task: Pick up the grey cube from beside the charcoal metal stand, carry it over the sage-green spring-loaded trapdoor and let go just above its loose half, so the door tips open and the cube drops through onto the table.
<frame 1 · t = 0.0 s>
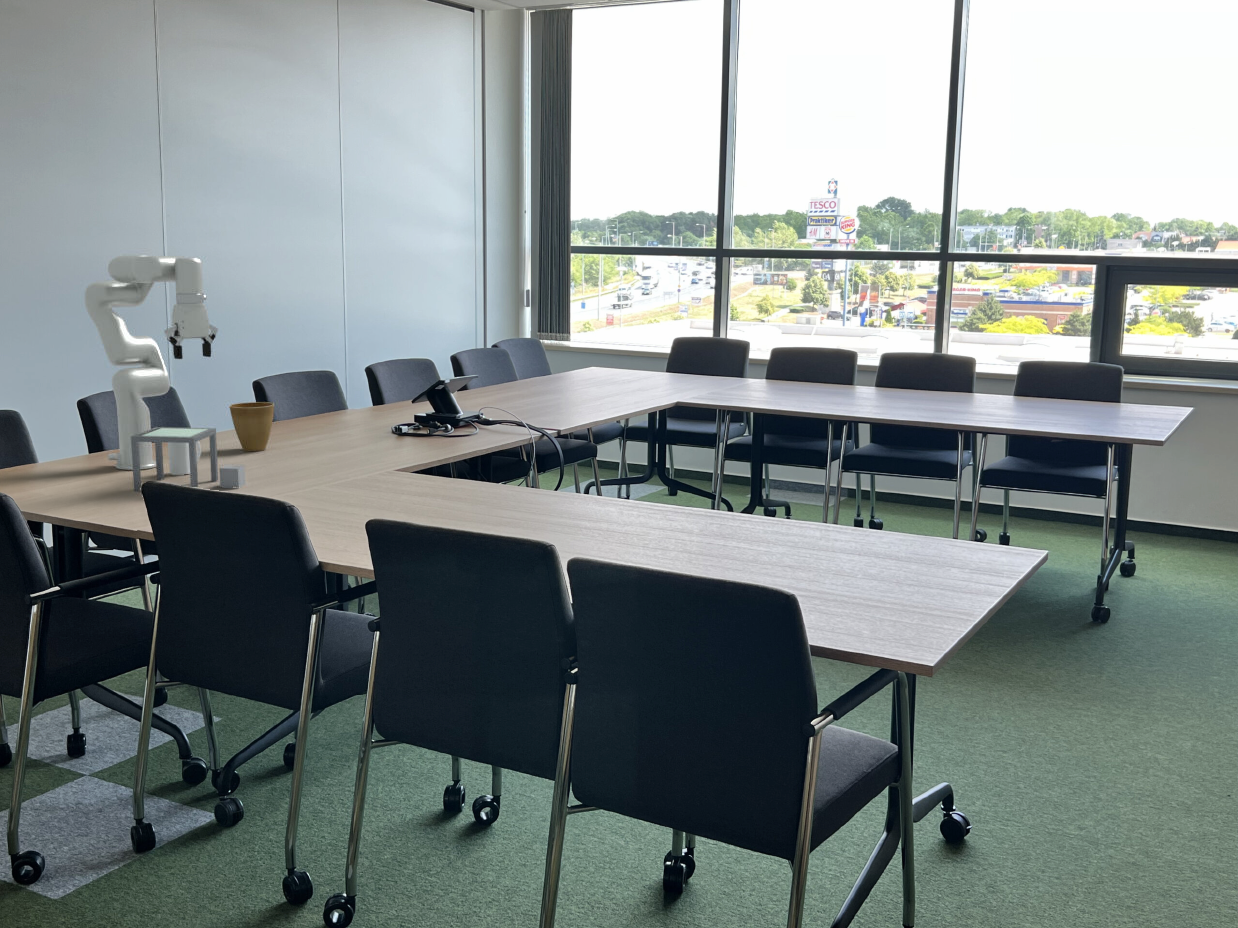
hand: (192, 357, 341), 37 cm above the table, tool pointing down, fingers open, 9 cm apart
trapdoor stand: (178, 485, 339), on the table
trapdoor: (175, 434, 337), point 16 cm above the table, hinge at 0.0°
plant pot: (253, 450, 400), on the table
grey cube: (232, 486, 340), on the table
mug: (186, 473, 358), on the table
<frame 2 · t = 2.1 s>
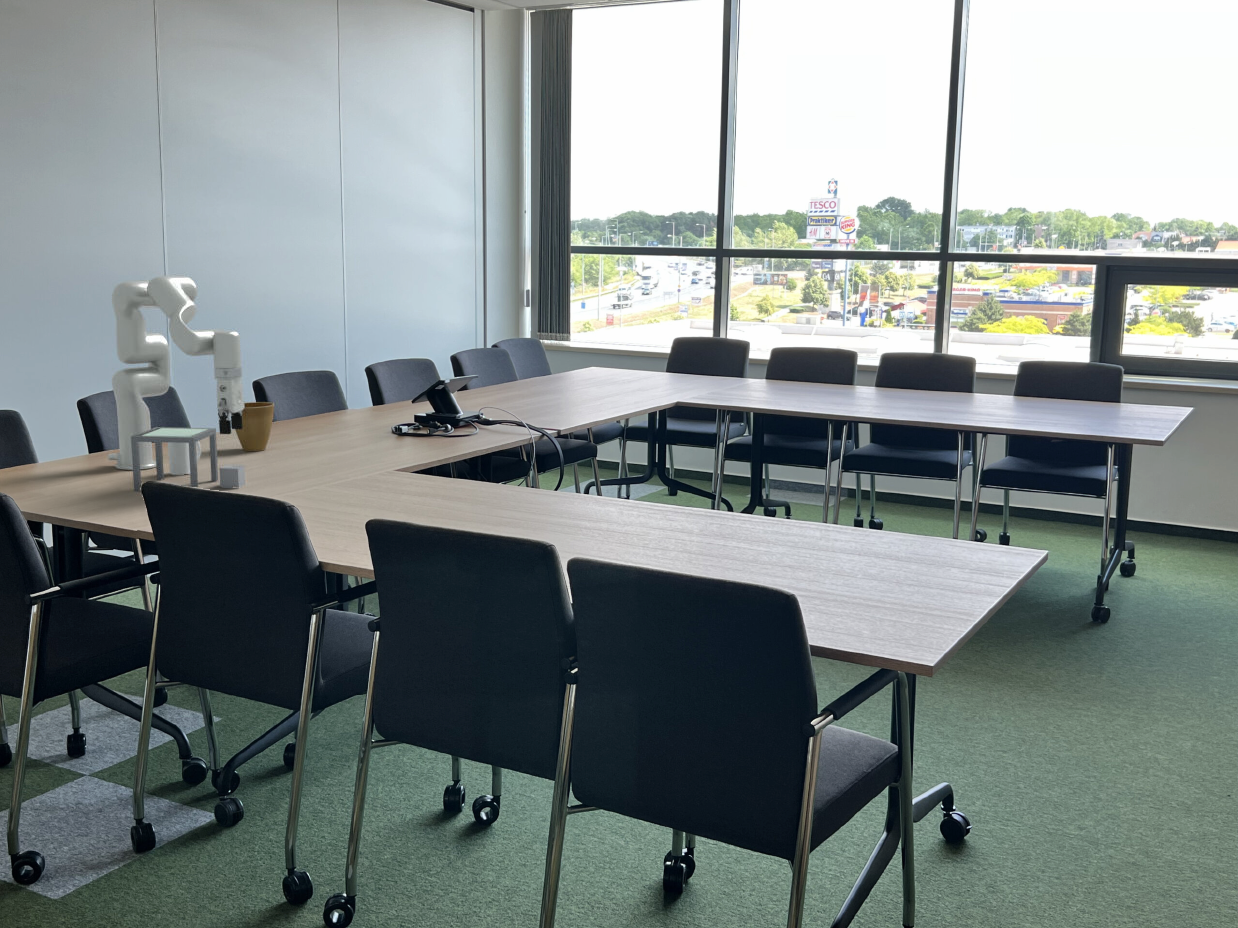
hand: (231, 431, 337), 17 cm above the table, tool pointing down, fingers open, 9 cm apart
nothing on the table moved.
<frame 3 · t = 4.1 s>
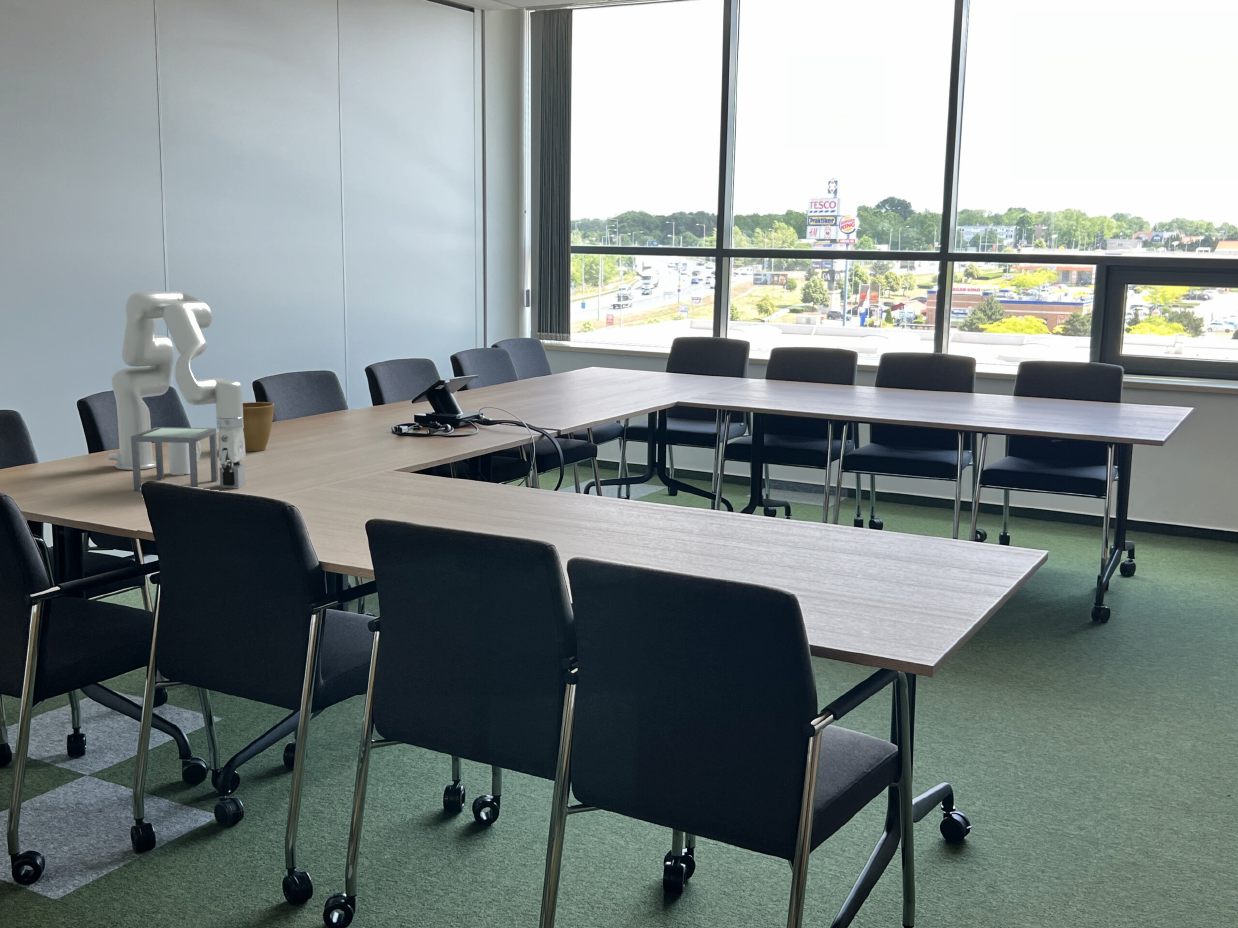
hand: (232, 482, 340), 1 cm above the table, tool pointing down, fingers closed on grey cube, 5 cm apart
grey cube: (232, 486, 340), on the table, touching gripper
everything else where it was.
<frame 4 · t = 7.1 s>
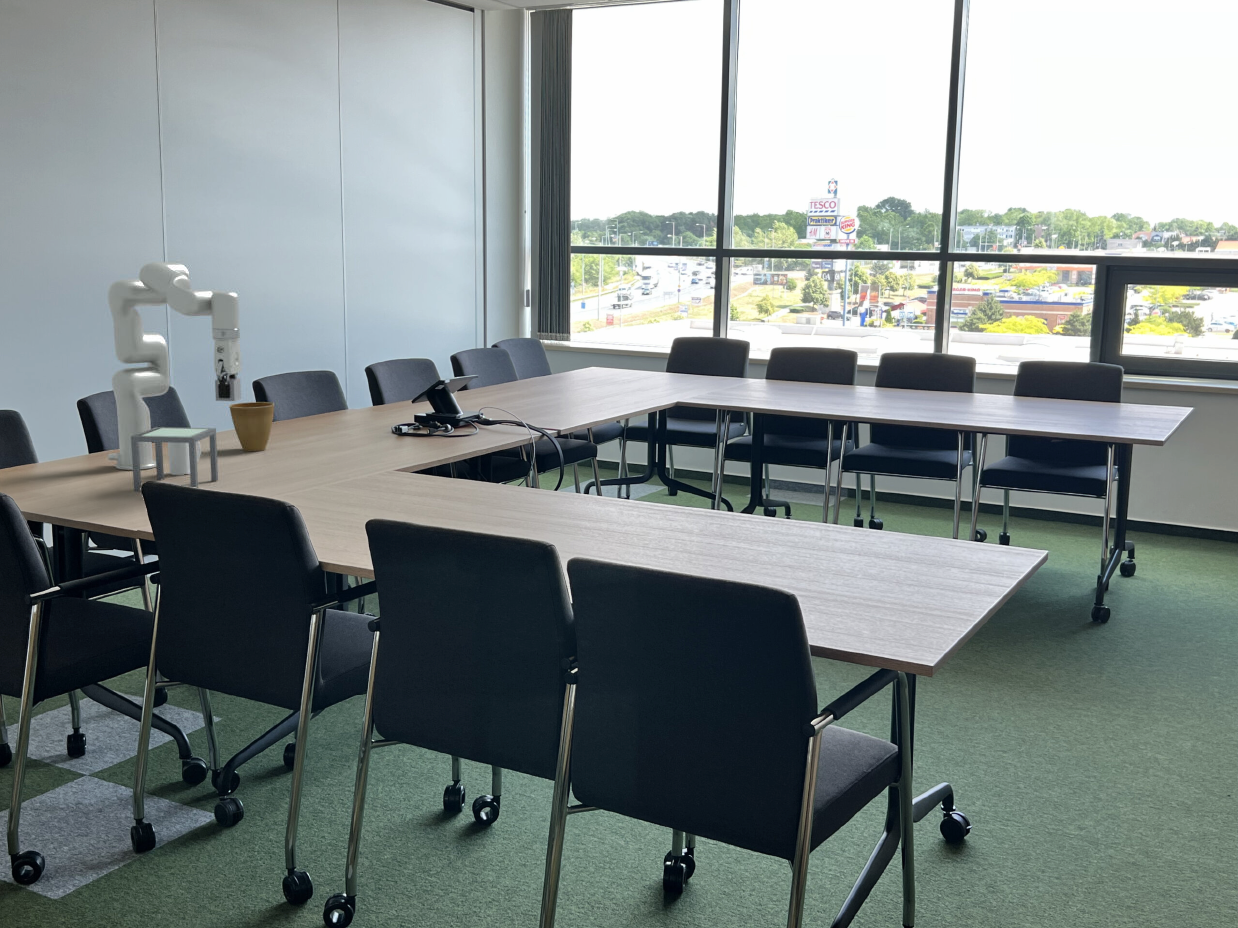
hand: (228, 395, 335), 27 cm above the table, tool pointing down, fingers closed on grey cube, 5 cm apart
grey cube: (228, 399, 336), point 26 cm above the table, touching gripper
everything else where it was.
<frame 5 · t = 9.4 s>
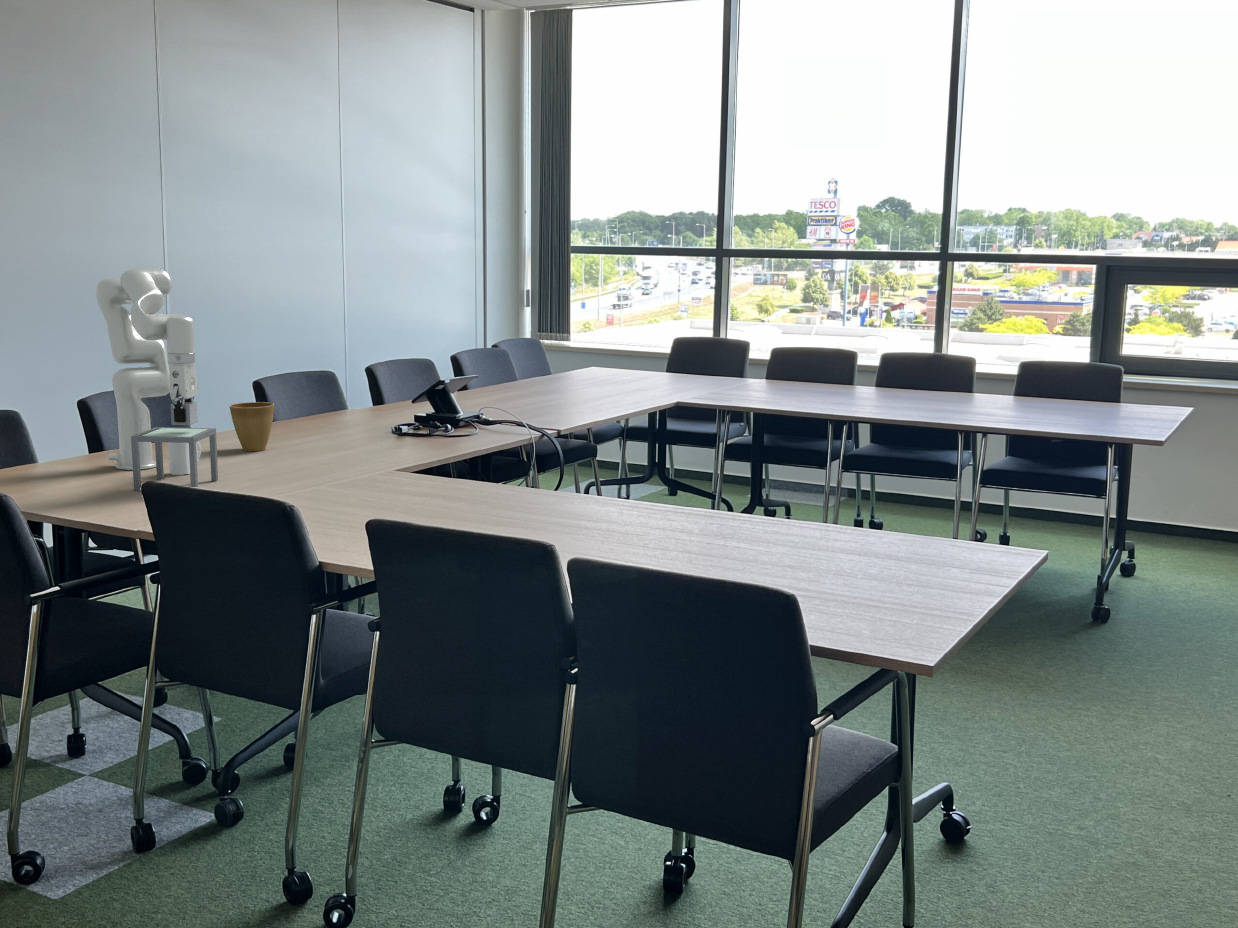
hand: (184, 419, 336), 20 cm above the table, tool pointing down, fingers closed on grey cube, 5 cm apart
grey cube: (184, 423, 336), point 19 cm above the table, touching gripper
everything else where it was.
when the fingers open (20 cm above the table, at t = 10.2 s): grey cube drops 16 cm and tips over, point 3 cm above the table.
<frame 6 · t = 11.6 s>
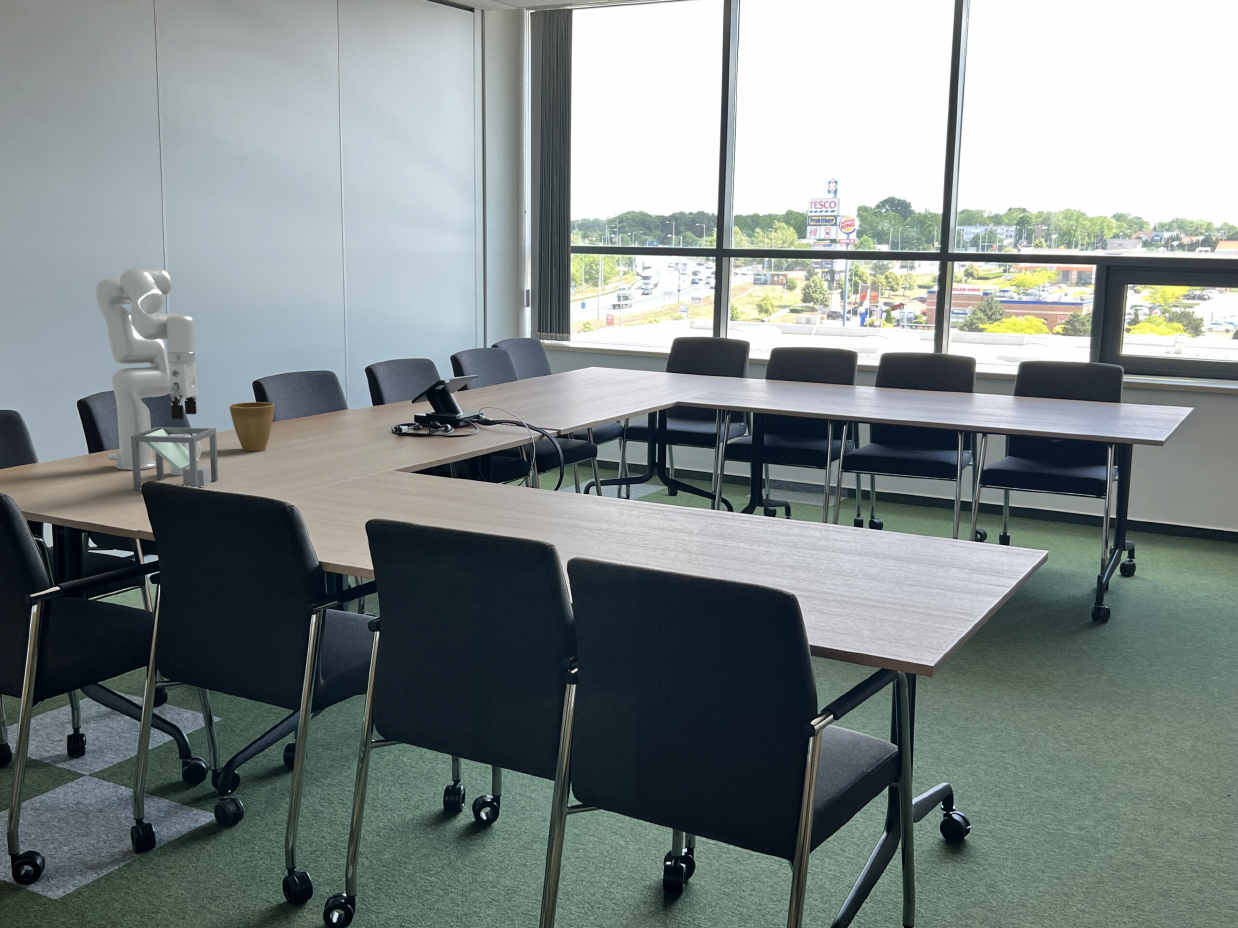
hand: (184, 416, 336), 21 cm above the table, tool pointing down, fingers open, 9 cm apart
trapdoor: (170, 449, 337), point 11 cm above the table, hinge at -41.5°
grey cube: (186, 476, 339), point 3 cm above the table, tilted 90°
everything else where it was.
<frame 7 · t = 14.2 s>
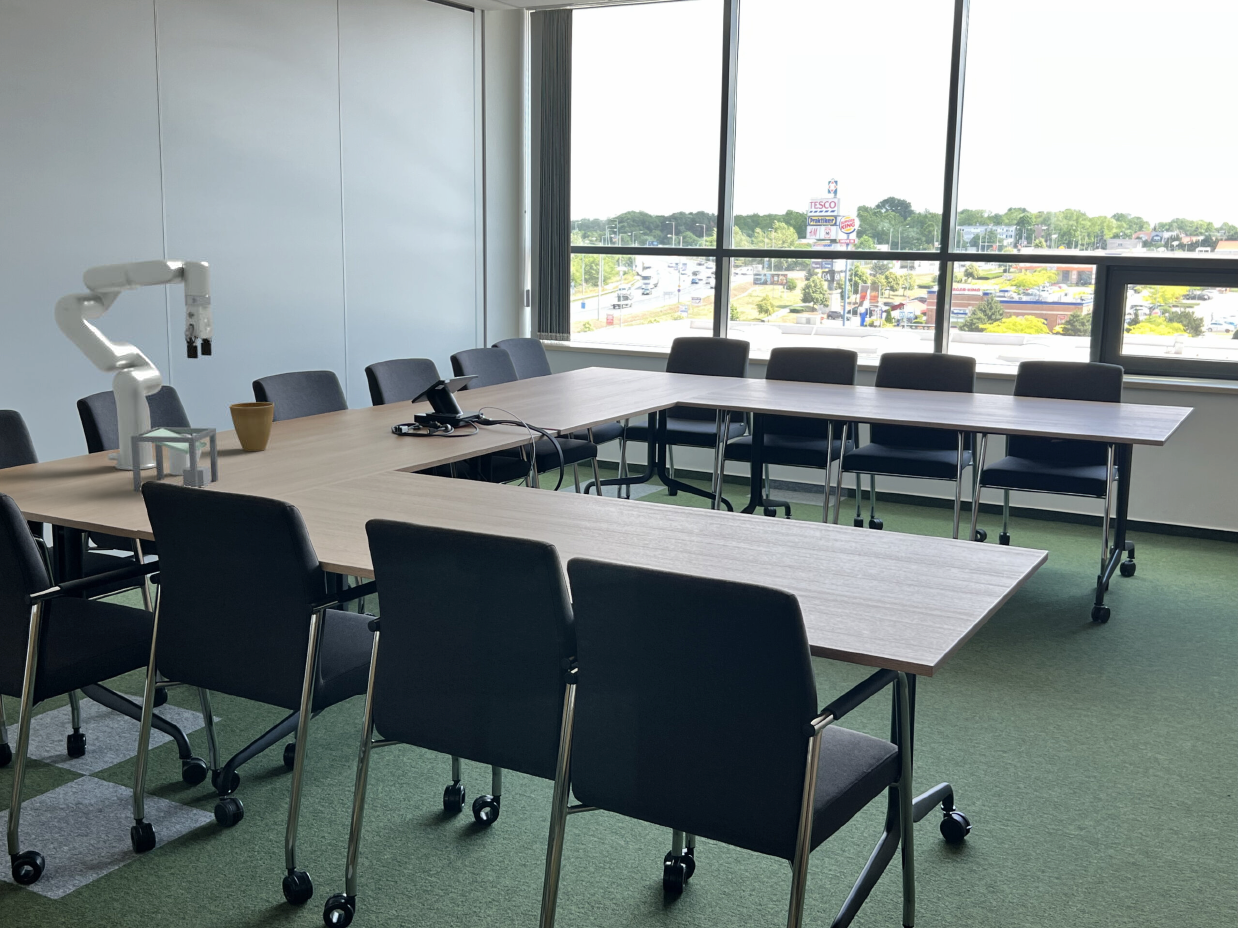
hand: (199, 356, 356), 36 cm above the table, tool pointing down, fingers open, 9 cm apart
trapdoor: (174, 441, 337), point 13 cm above the table, hinge at -17.6°
everything else where it was.
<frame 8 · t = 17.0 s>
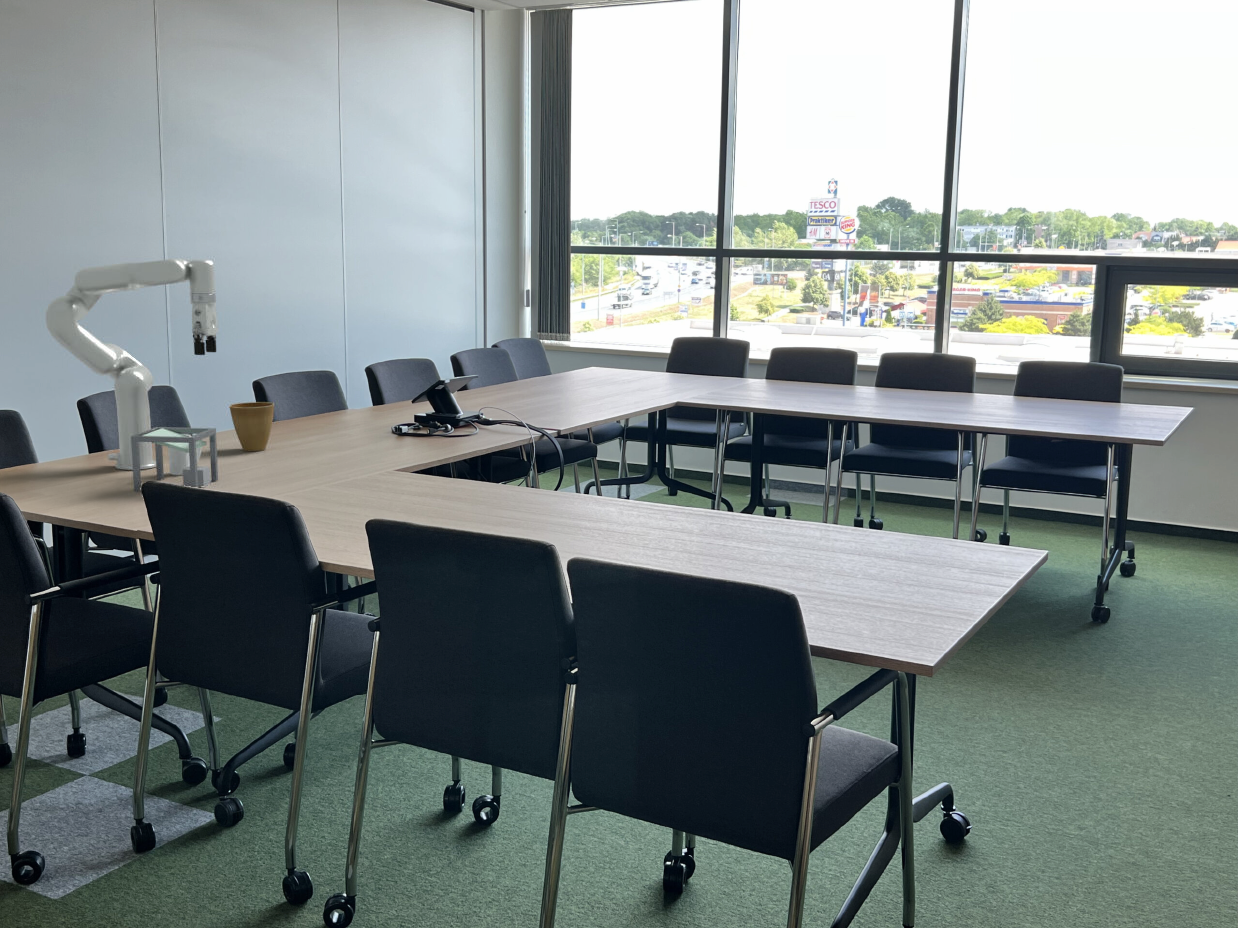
hand: (205, 353, 364), 36 cm above the table, tool pointing down, fingers open, 9 cm apart
trapdoor: (174, 440, 337), point 14 cm above the table, hinge at -16.0°
everything else where it was.
at the end: grey cube point 2.6 cm above the table; grey cube inside the target area (2.7 cm from its centre), point 2.6 cm above the table; the gripper is holding nothing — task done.
